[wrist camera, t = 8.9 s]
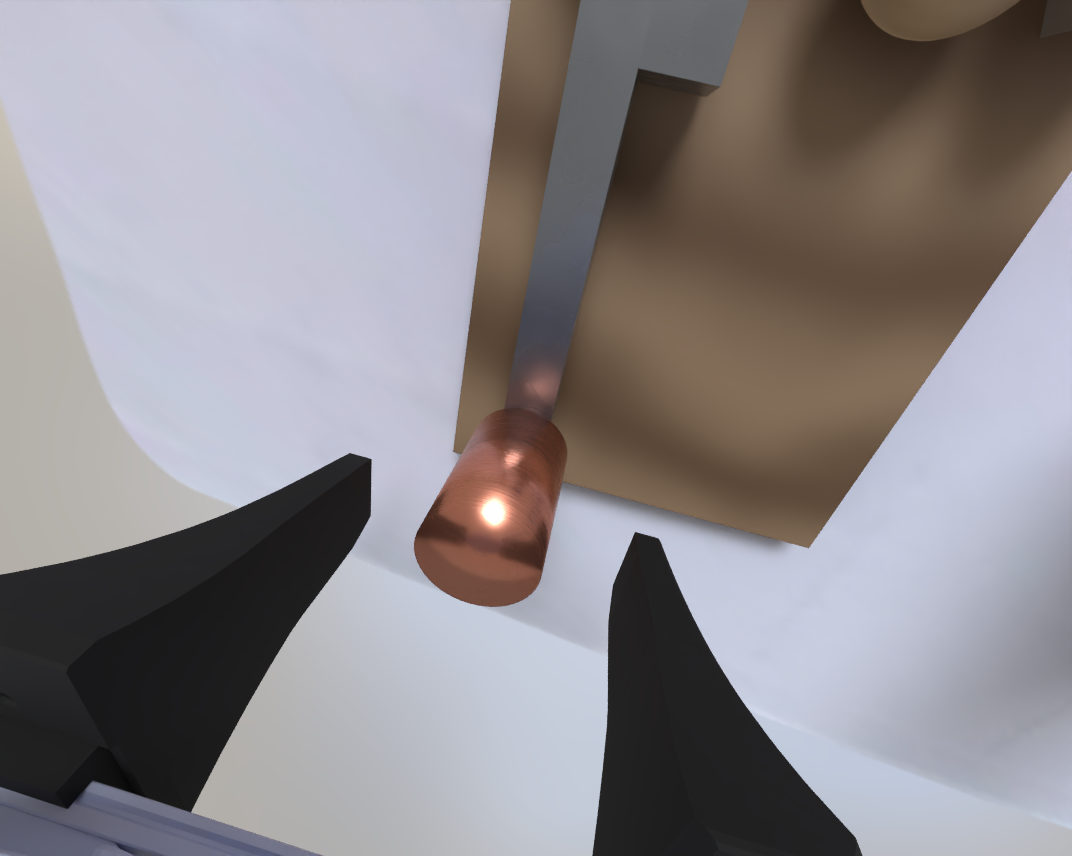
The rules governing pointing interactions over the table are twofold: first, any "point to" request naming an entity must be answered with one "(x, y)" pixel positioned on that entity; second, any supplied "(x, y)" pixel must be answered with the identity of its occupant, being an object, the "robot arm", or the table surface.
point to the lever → (562, 293)
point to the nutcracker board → (771, 248)
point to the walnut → (932, 16)
